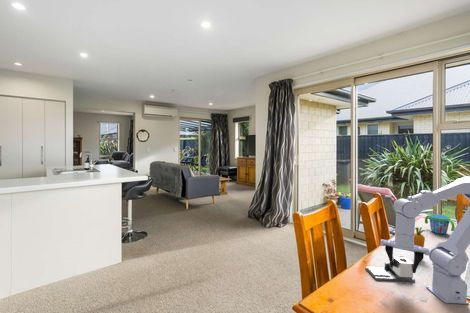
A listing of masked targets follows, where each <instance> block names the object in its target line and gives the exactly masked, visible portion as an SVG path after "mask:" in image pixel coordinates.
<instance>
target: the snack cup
mask: <svg viewBox="0 0 470 313" xmlns="http://www.w3.org/2000/svg"><path fill="white" fill-rule="evenodd" d="M428 219H429V221H428ZM428 223H429V227H430V231H431V232H432V233H434V232H435V234H438V233H439V234H438V235H446V234H447V233H448V229H449V225H451V228H450V231H451V232H453V231H454V229H455V228H456V226H455V223H454V221H453V220H452V219H451V217H450V216H447V215H442V214H435V213H431V214H428V215H426V216H425V218H424V224H428Z"/></svg>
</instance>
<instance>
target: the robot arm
mask: <svg viewBox="0 0 470 313" xmlns="http://www.w3.org/2000/svg"><path fill="white" fill-rule="evenodd" d="M460 194H463V196H464V197H465V198H466V199H467V201H468V203H469V204H470V175H465V176H462V177H460V178H456V179H455V181H452V182H451V183H449V184H446V185H445V186H442V187H439V188H438V189H436V190H434V191H431V190H425V189H424V190H423V189H422V190H420V191H419V193H417V194H414V195H412V196H411V195H409V196H407V198H399V199H396V201H395V203H394V204H392V209H393V211H394V212H395V227H394V228H395V231H394V232H395V233H394V235H395V236H394V240H391V239H382V238H381V239H380V246H381V247H384V249H385V252H386V255H387V256H388V260H389V263H390V266H391V268H393V257H394V249H398V250H403V251H408V252H410V253H411V252H412V253H414V254H413V263H414V267H413V274H416V273H417V269H418V267H419V265H420V264H421V262H422V261H423V259H425V258H424V255H425V256H427V257H428V258H429V260H430V262H432V264H431V265H432V279H431V280H432V283H431V285H425V288H426V289H427V290H429V291H430V292H431V293H432V294H434V295H435V296H436V297H437V298H439V299H440V300H441V301H442V302H444V303H446V304H461V305H469V303H470V302H469V301H468V300H467V298H468V297H467V295H468V284H467V283H466V281H465V280H464V279H462V277H461V276H462V275H463V274H464V272H466V270H467V265H468V262H469V260H470V259H469V256H468V254H467V252H466V251H467V249H468V247H469V246H470V205H469V206H468V208H467V209H466V212H465V213H463V215H462V217H461V218H460V220H459V221H458V222H457V225H456V226H455V229H454V231H451V234H450V235H449V236H448V238H447V240H446V241H442V242H438V243H437V245H436V246H435V247H432V248H431V250H430V248H428V247H425V246H424V247H421V246H417V245H414V234H415V232H416V229H415V228H416V218H417V217H418V216H419V215H420V213H422V212H423V211H426V210H428V209H430V208H434V207H436V206H438V205H439V202H440V201H441V200H446V199H448V198H452V197H455V196H458V195H460Z"/></svg>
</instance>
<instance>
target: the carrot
mask: <svg viewBox="0 0 470 313" xmlns="http://www.w3.org/2000/svg"><path fill="white" fill-rule="evenodd" d="M422 229H423V228H422V226H421V227H418V226H417V227H416V226H415V232H416V233H415V232H414V245H417V246H421V247H424V248H425V241H426V239H425V236H424V235H423V234H422V233H423V232H426V230H425V229H423V230H422Z"/></svg>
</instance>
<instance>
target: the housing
mask: <svg viewBox="0 0 470 313" xmlns="http://www.w3.org/2000/svg"><path fill="white" fill-rule="evenodd" d="M413 267H414V262H412V261H411V260H410V259H408V258H407V257H405V258H400V256H399V257H396V256H393V271H394V272H395V273H396V274H397V275H398V276H400V277H413V278H414V273H413Z"/></svg>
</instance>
